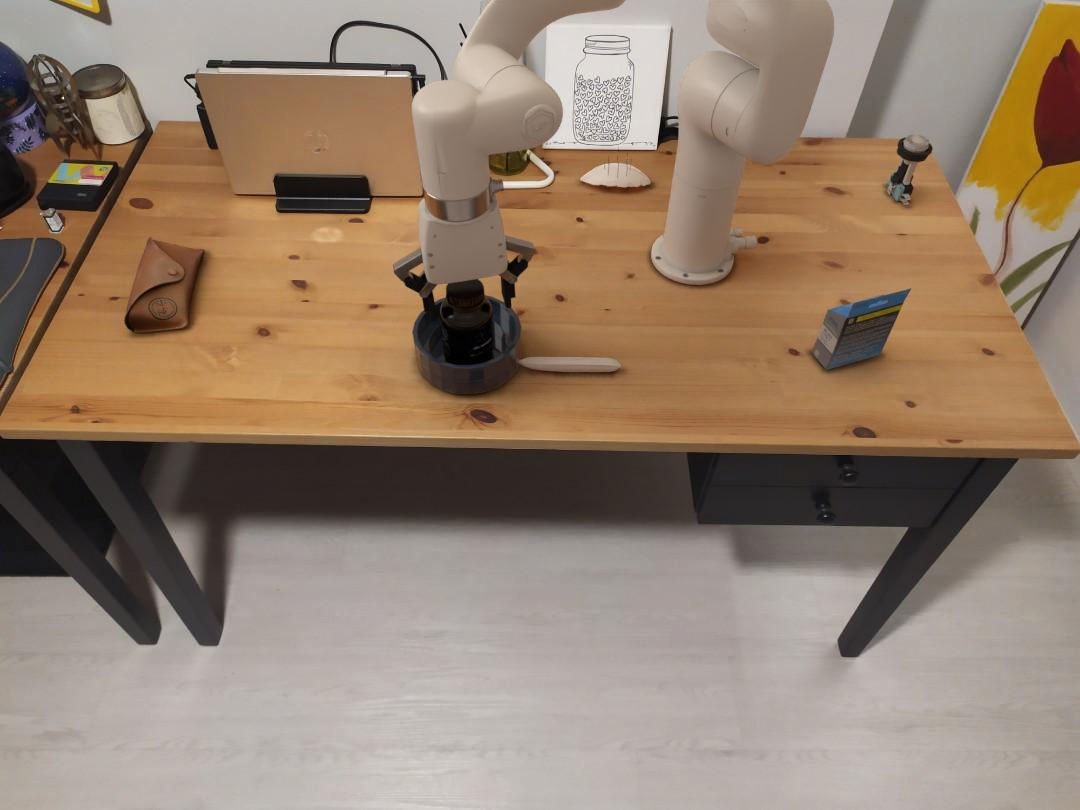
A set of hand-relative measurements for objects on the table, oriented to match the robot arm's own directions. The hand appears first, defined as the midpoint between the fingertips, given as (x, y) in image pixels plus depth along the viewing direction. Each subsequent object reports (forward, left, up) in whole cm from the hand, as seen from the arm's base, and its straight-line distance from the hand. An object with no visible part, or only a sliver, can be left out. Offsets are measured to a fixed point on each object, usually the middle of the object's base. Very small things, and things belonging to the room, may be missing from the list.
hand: (470, 307), depth 104 cm
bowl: (+1, 0, -9) cm, 9 cm away
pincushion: (-30, -36, -9) cm, 48 cm away
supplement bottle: (+1, 0, -9) cm, 9 cm away
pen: (-13, -4, -5) cm, 15 cm away
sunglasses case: (+42, -23, -9) cm, 48 cm away
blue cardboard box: (-50, +10, -9) cm, 52 cm away
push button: (-76, -23, -9) cm, 80 cm away
